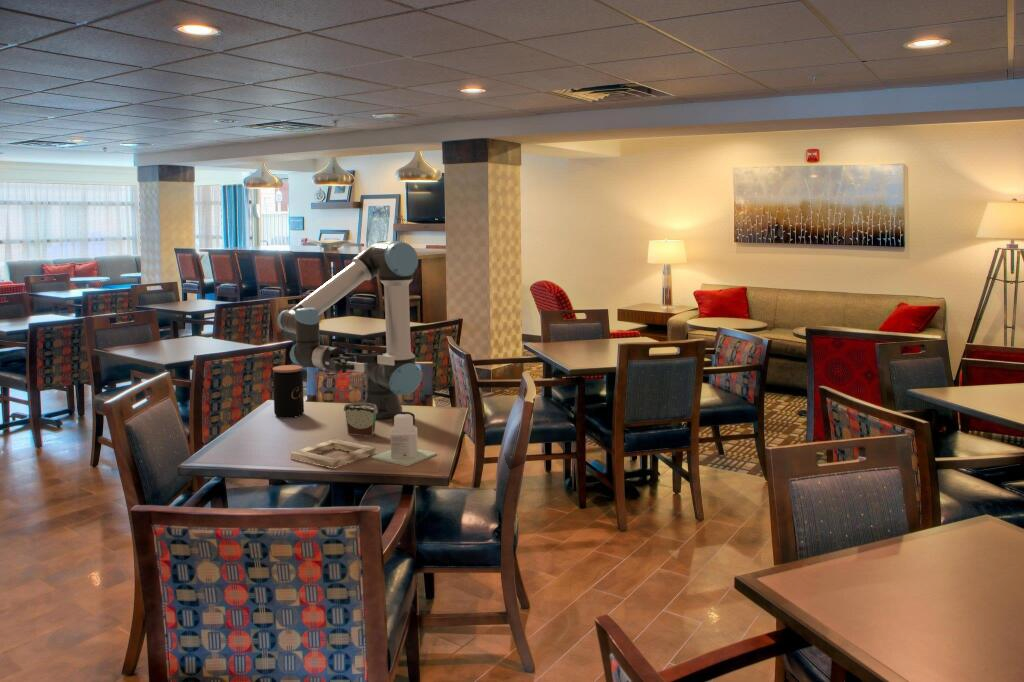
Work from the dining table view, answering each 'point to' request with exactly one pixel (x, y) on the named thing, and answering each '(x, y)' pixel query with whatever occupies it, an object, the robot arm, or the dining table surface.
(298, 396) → the coffee jar
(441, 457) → the dining table surface
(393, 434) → the container
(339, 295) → the robot arm
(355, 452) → the square picture frame
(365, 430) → the food container
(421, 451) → the pad
